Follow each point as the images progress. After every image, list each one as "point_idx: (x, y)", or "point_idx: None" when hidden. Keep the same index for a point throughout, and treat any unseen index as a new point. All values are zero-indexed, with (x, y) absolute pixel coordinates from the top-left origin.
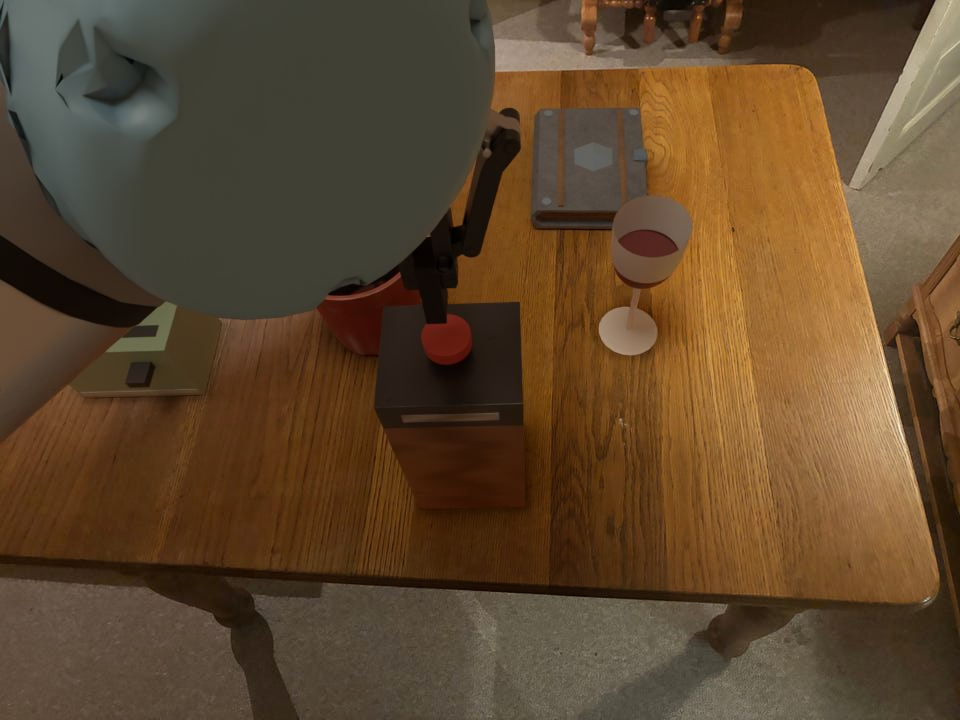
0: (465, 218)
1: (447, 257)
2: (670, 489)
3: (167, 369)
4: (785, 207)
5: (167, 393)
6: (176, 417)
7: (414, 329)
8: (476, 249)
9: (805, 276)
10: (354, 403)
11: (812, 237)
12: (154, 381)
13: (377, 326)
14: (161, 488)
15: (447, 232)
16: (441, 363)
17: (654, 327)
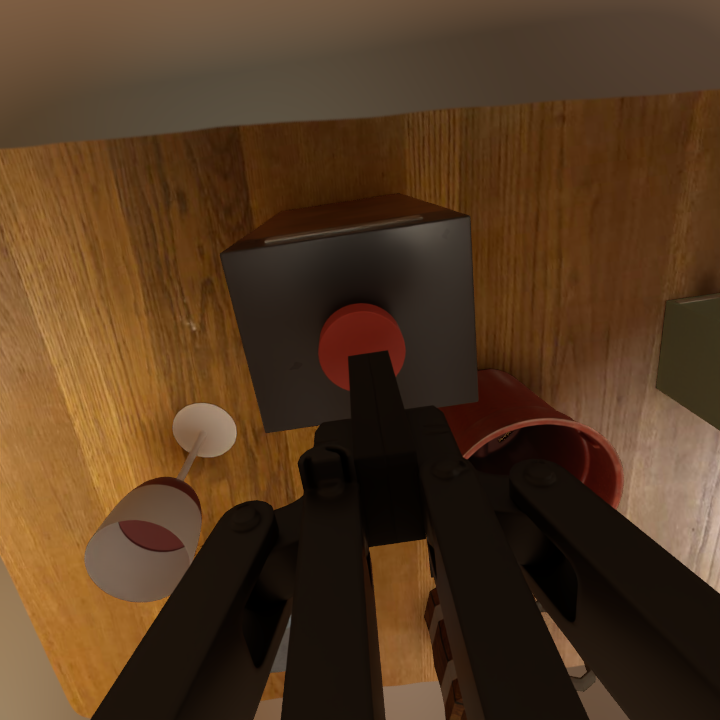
0: (274, 622)
1: (319, 493)
2: (124, 253)
3: None
4: (68, 581)
5: (712, 295)
6: (696, 269)
7: (422, 367)
8: (226, 528)
9: (32, 510)
10: (492, 311)
11: (34, 553)
12: None
13: (479, 398)
14: (705, 178)
15: (300, 586)
16: (364, 303)
17: (177, 437)
